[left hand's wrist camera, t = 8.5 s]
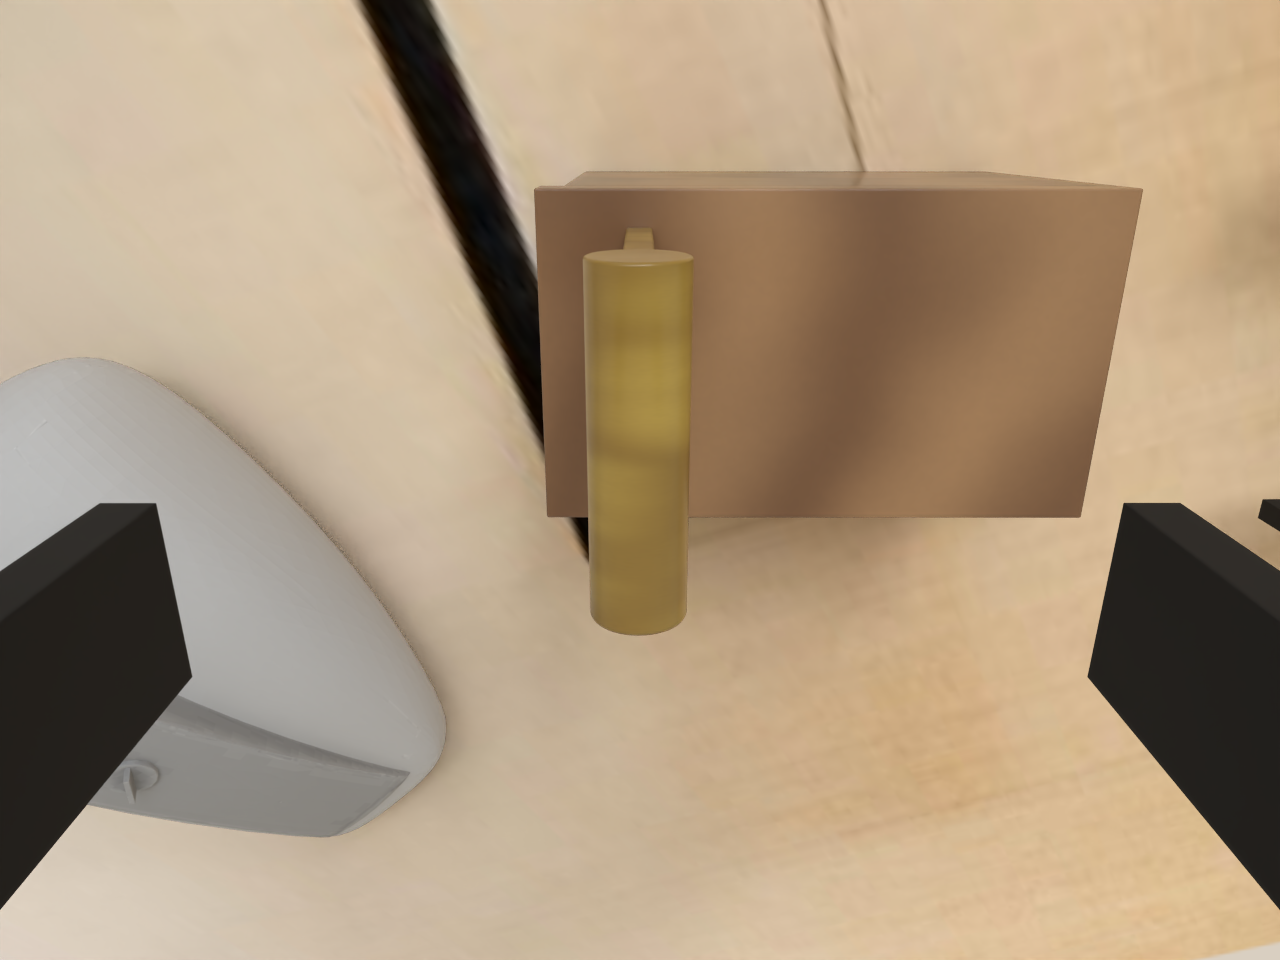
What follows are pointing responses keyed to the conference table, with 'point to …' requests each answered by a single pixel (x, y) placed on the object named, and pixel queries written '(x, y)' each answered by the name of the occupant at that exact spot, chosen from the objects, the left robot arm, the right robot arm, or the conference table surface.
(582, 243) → the lid
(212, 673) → the projector
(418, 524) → the conference table surface
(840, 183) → the chest
